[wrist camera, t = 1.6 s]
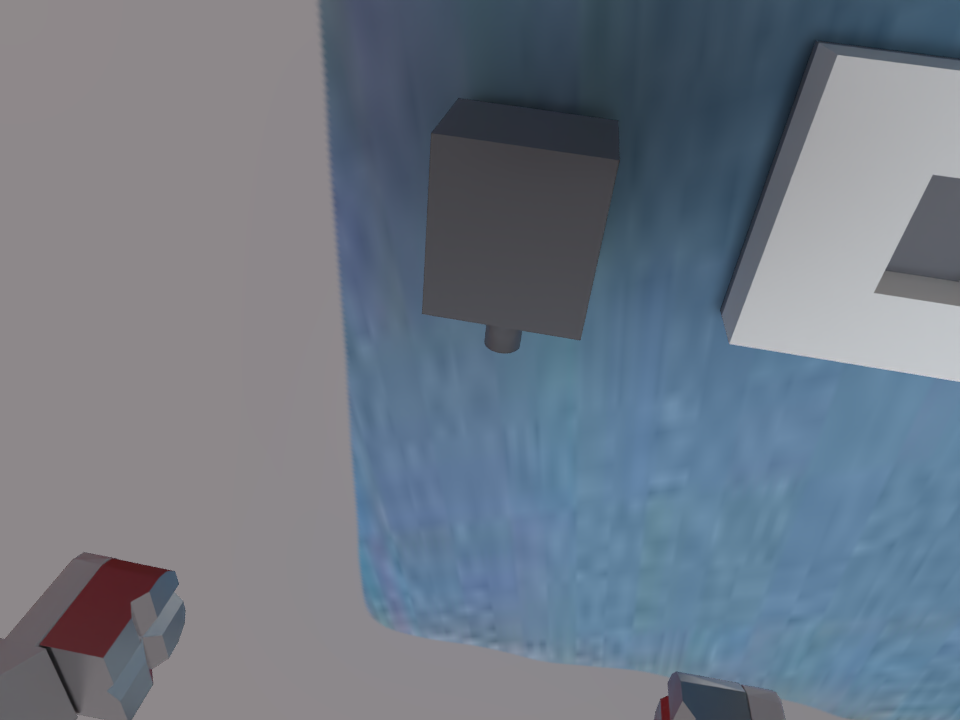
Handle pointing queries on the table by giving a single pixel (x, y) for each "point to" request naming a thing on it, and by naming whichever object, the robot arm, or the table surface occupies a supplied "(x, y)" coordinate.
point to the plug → (516, 218)
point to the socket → (859, 219)
